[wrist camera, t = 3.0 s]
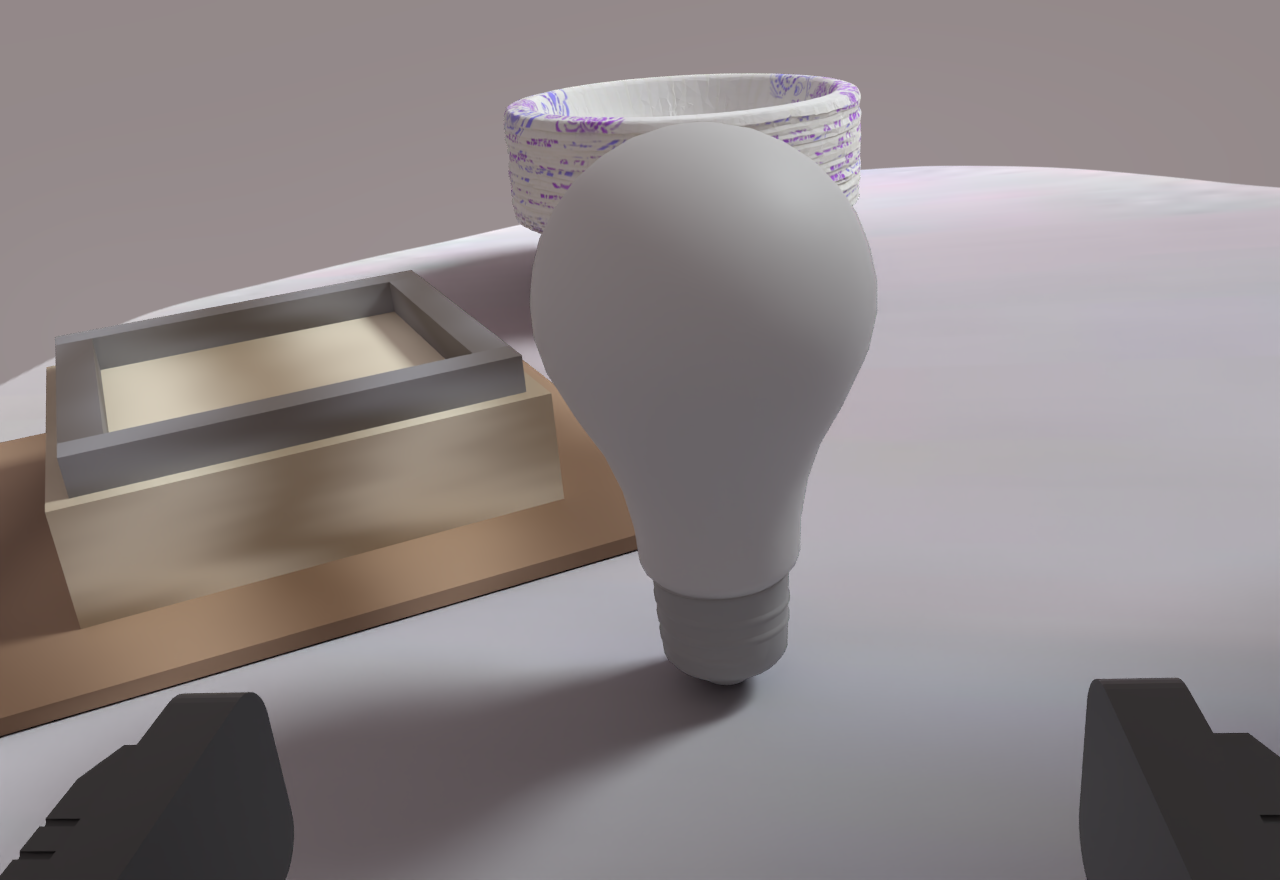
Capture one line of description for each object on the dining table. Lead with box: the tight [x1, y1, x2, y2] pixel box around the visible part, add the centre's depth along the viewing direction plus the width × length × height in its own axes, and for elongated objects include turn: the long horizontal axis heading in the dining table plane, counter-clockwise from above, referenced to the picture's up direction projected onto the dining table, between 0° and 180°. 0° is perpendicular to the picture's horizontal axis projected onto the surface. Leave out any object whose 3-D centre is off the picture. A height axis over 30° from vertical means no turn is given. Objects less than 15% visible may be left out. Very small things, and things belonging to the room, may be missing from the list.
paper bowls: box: [504, 74, 861, 234], centre depth 53 cm, size 15×15×8 cm
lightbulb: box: [530, 122, 877, 685], centre depth 22 cm, size 6×6×11 cm
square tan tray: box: [0, 270, 638, 736], centre depth 34 cm, size 18×18×4 cm
